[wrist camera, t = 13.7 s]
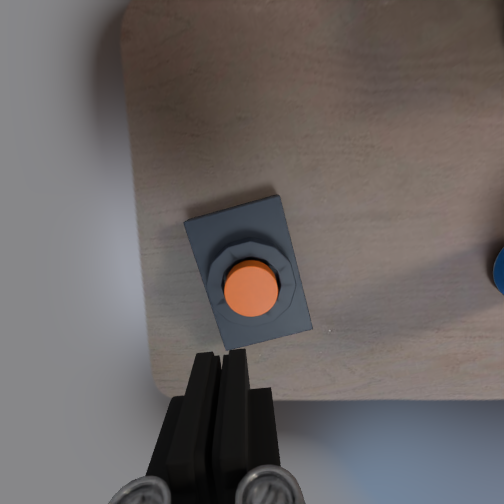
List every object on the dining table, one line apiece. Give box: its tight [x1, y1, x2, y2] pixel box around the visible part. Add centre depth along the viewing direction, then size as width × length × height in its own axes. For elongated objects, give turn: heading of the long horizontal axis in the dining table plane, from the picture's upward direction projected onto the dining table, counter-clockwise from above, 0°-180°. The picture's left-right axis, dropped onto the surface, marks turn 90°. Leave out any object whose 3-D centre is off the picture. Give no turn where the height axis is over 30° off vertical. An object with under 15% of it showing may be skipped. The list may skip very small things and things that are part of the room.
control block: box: [184, 195, 313, 351], centre depth 25 cm, size 12×8×4 cm, turn 15°
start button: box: [224, 260, 278, 317], centre depth 22 cm, size 4×4×2 cm
